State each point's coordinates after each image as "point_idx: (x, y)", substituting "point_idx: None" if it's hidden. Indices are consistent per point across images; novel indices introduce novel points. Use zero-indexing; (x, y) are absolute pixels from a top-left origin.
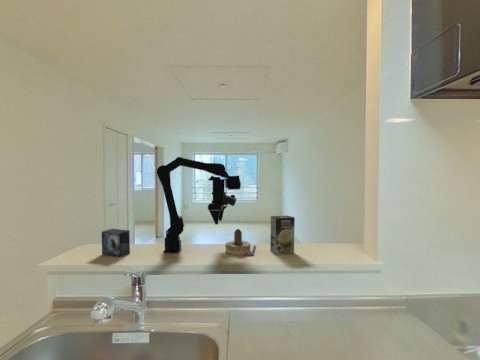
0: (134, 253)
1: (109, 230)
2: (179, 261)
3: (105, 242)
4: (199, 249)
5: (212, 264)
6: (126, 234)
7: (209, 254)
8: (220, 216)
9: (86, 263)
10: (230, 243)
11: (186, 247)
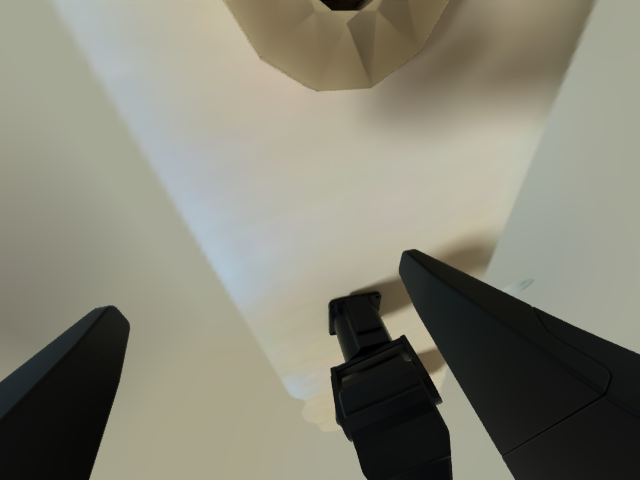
0: None
1: None
2: (471, 241)
3: None
4: (322, 244)
5: (552, 102)
6: None
7: (401, 169)
8: (77, 395)
9: (440, 371)
10: (351, 37)
11: (301, 298)
